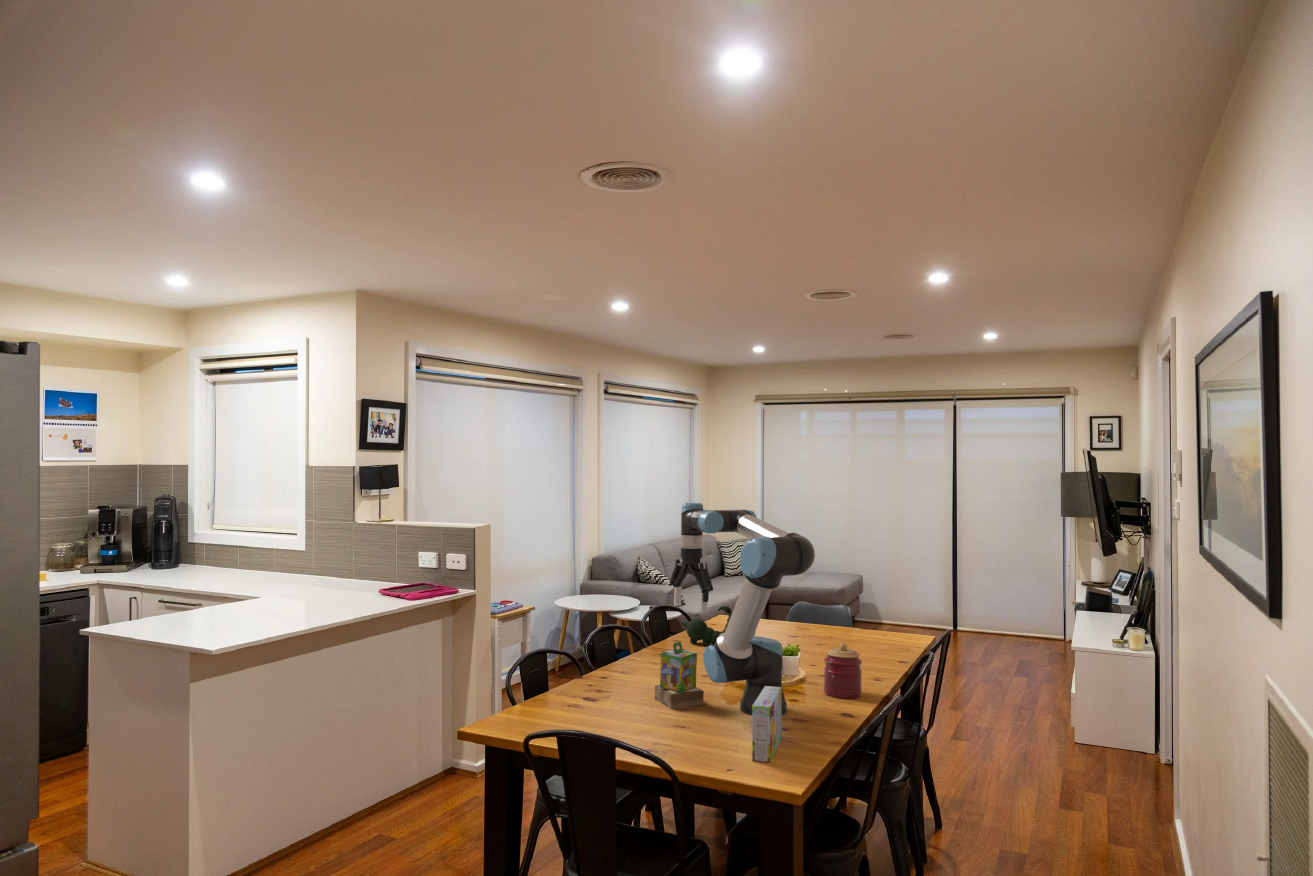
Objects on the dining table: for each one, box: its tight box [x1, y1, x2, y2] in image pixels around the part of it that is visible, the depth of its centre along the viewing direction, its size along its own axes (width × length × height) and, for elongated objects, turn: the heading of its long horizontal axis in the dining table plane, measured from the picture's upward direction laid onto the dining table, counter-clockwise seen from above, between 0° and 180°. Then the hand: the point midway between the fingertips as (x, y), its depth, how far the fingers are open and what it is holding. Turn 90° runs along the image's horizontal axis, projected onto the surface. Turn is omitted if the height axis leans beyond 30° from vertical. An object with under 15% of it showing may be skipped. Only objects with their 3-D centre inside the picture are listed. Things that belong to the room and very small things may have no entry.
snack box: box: [751, 686, 783, 764], centre depth 230 cm, size 21×6×15 cm, turn 163°
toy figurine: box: [680, 605, 733, 646], centre depth 364 cm, size 9×19×25 cm
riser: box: [654, 684, 705, 710], centre depth 274 cm, size 12×12×5 cm
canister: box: [823, 642, 863, 700], centre depth 288 cm, size 13×13×18 cm
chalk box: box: [659, 641, 698, 692], centre depth 274 cm, size 9×9×15 cm
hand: (690, 608), depth 285 cm, fingers open, 13 cm apart
